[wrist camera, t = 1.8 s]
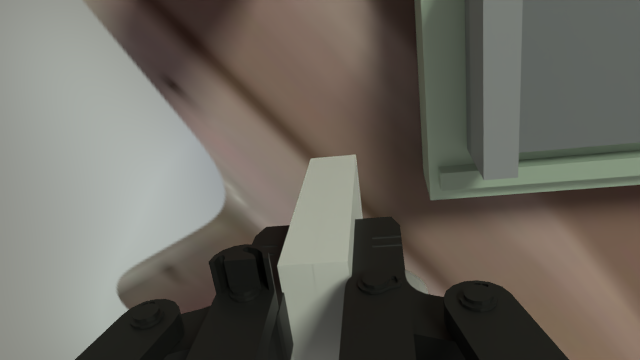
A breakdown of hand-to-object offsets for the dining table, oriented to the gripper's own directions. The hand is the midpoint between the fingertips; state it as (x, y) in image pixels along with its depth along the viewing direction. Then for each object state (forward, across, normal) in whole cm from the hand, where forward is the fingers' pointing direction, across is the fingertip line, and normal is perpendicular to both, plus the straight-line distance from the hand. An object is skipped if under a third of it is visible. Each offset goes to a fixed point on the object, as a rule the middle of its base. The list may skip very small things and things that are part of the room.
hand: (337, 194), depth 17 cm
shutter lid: (+10, +11, +2) cm, 15 cm away
